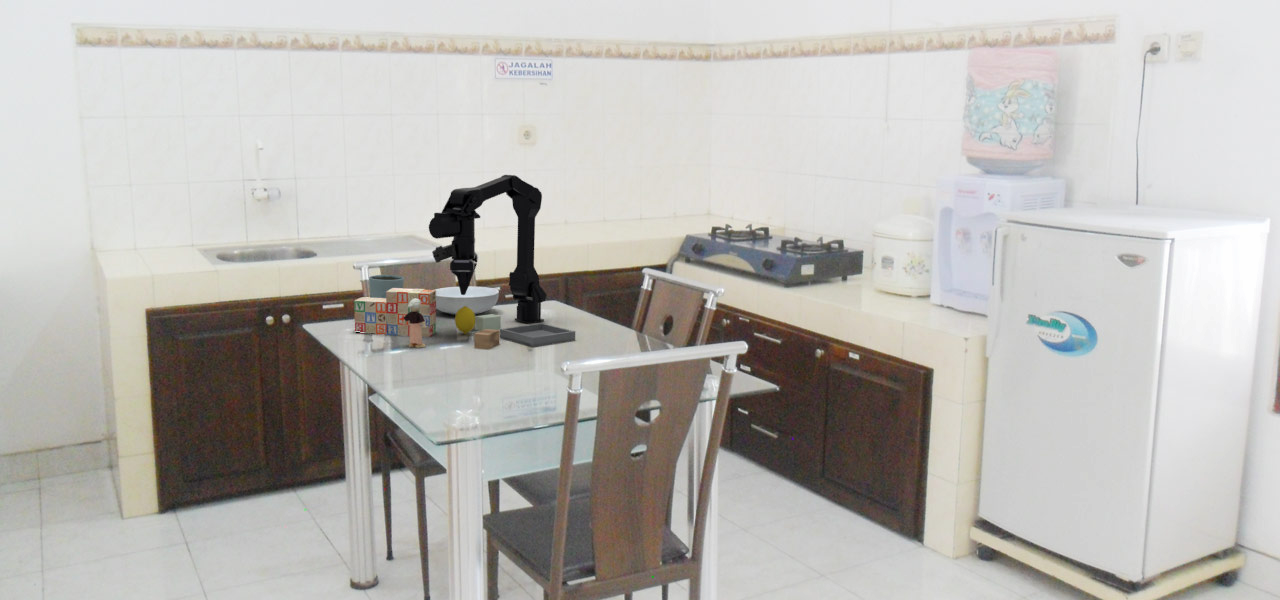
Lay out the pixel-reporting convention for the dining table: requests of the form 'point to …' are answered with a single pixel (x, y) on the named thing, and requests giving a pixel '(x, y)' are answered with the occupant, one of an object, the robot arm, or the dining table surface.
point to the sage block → (487, 322)
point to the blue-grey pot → (384, 284)
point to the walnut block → (486, 339)
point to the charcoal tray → (537, 334)
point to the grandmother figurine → (415, 323)
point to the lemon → (465, 319)
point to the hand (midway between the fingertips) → (464, 292)
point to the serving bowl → (466, 299)
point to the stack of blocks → (395, 312)
